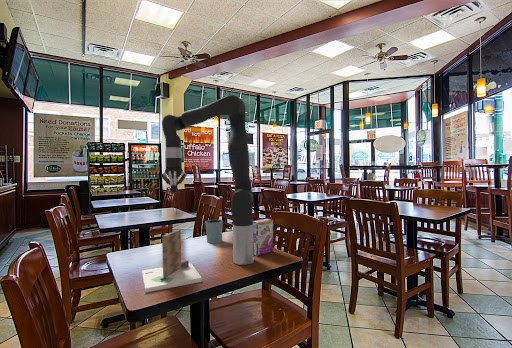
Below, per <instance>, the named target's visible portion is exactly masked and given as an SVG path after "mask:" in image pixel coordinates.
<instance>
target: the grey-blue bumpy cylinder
mask: <svg viewBox="0 0 512 348" xmlns="http://www.w3.org/2000/svg"><path fill="white" fill-rule="evenodd" d="M223 223H224V221H223V220H222V219H208V220H205V230H206V231H205V232H206V243H208V244H210V245H211V244H213V245H214V244H220V243H222V242H223V226H224V225H223Z"/></svg>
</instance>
